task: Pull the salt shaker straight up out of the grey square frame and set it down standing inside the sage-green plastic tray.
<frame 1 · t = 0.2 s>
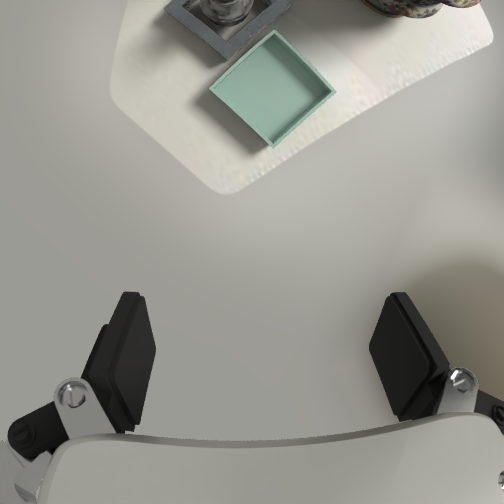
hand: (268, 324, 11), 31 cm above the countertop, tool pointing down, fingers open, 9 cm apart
grey square frame: (227, 8, 28), on the countertop
tray: (271, 88, 34), on the countertop
salt shaker: (227, 8, 28), resting in grey square frame
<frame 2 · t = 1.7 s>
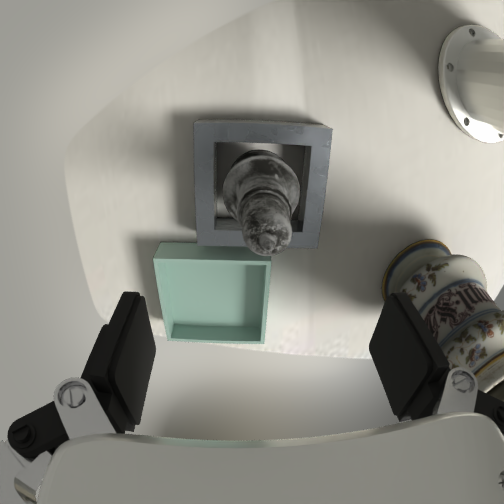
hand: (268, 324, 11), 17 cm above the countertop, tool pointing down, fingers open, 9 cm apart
grey square frame: (259, 179, 26), on the countertop
tray: (215, 287, 32), on the countertop
apothecary jar: (418, 275, 32), on the countertop
salt shaker: (259, 178, 26), resting in grey square frame
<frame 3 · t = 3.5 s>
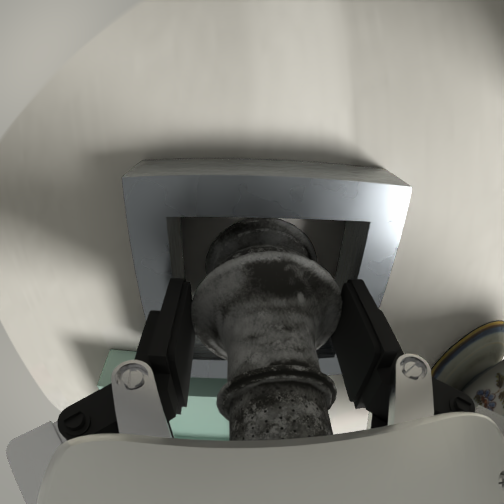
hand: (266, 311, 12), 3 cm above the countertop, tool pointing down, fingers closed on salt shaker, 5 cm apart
grey square frame: (262, 268, 15), on the countertop
tray: (197, 400, 20), on the countertop
apothecary jar: (468, 360, 21), on the countertop
salt shaker: (261, 266, 15), resting in grey square frame, touching gripper
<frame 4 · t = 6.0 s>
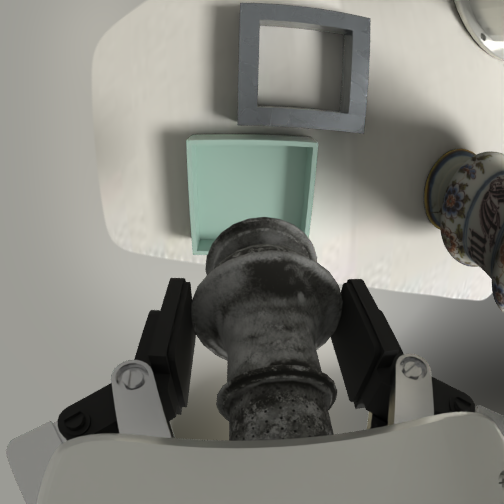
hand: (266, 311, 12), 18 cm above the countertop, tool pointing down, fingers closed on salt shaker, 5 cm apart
grey square frame: (300, 67, 22), on the countertop
tray: (250, 189, 28), on the countertop
apothecary jar: (456, 189, 28), on the countertop
salt shaker: (261, 266, 15), point 15 cm above the countertop, touching gripper
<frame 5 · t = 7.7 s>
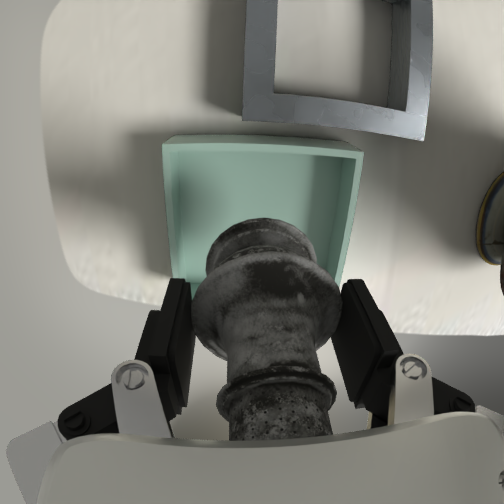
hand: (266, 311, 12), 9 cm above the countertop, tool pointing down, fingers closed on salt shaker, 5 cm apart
grey square frame: (335, 41, 14), on the countertop
tray: (258, 215, 20), on the countertop
salt shaker: (261, 266, 15), point 6 cm above the countertop, touching gripper
when the fingers open (5 cm above the countertop, at t = 8.9 s): salt shaker drops 2 cm, resting on tray.
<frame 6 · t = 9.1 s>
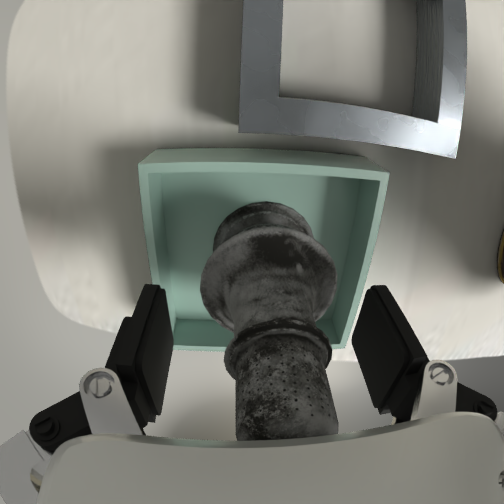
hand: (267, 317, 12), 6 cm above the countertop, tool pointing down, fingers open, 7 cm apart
grey square frame: (352, 34, 11), on the countertop
tray: (258, 244, 17), on the countertop
salt shaker: (263, 247, 16), point 1 cm above the countertop, touching tray
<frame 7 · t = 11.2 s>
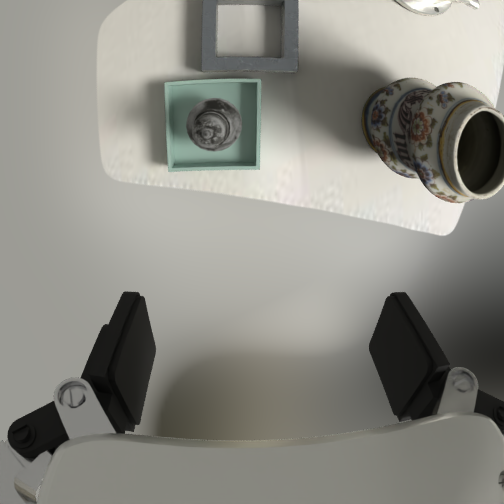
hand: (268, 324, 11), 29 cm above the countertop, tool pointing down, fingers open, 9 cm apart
grey square frame: (249, 31, 29), on the countertop
tray: (214, 122, 34), on the countertop
apothecary jar: (394, 122, 35), on the countertop
salt shaker: (216, 121, 33), point 1 cm above the countertop, touching tray
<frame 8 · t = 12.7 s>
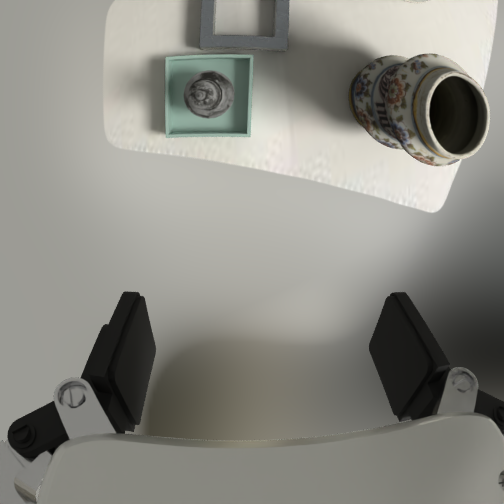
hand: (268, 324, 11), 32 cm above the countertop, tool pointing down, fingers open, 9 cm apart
grey square frame: (244, 13, 30), on the countertop
tray: (210, 95, 35), on the countertop
apothecary jar: (380, 99, 36), on the countertop
salt shaker: (211, 94, 35), point 1 cm above the countertop, touching tray
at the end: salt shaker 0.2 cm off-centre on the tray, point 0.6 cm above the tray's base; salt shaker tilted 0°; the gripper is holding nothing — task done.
